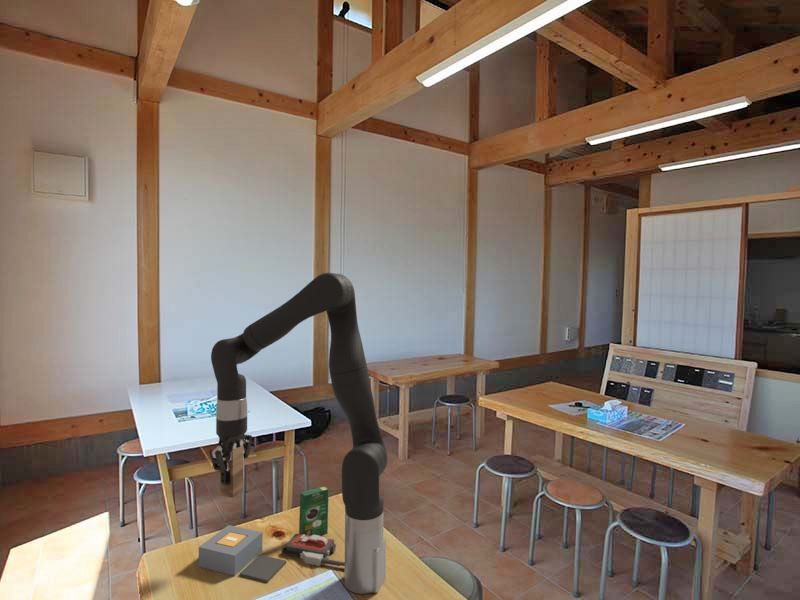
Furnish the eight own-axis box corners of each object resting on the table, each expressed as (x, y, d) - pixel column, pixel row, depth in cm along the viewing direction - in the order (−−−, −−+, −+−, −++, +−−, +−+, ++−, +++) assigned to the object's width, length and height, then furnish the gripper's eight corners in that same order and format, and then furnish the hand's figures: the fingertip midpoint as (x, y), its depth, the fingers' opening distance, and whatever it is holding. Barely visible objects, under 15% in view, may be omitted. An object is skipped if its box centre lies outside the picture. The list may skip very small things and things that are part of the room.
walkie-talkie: (277, 560, 114) (349, 573, 109) (277, 543, 114) (349, 556, 109) (293, 541, 122) (361, 553, 117) (293, 526, 122) (361, 537, 117)
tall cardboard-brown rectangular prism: (243, 491, 114) (243, 445, 114) (233, 497, 111) (232, 450, 111) (230, 488, 116) (230, 443, 116) (220, 495, 112) (219, 449, 112)
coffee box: (324, 528, 128) (324, 484, 128) (328, 533, 126) (329, 488, 126) (298, 537, 123) (298, 491, 123) (302, 542, 121) (303, 495, 121)
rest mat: (286, 563, 112) (286, 560, 112) (267, 582, 104) (267, 580, 104) (259, 556, 114) (259, 554, 114) (239, 575, 107) (239, 573, 107)
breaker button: (246, 550, 115) (246, 535, 115) (233, 562, 110) (233, 546, 110) (230, 546, 117) (230, 531, 117) (216, 558, 112) (216, 542, 112)
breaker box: (262, 550, 117) (262, 532, 117) (234, 575, 107) (235, 555, 107) (228, 542, 121) (228, 524, 120) (198, 566, 110) (198, 546, 110)
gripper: (224, 424, 105) (224, 495, 105) (261, 409, 118) (261, 472, 119) (199, 421, 107) (199, 490, 108) (238, 407, 121) (238, 468, 121)
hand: (231, 480), depth 113 cm, fingers closed on tall cardboard-brown rectangular prism, 4 cm apart
